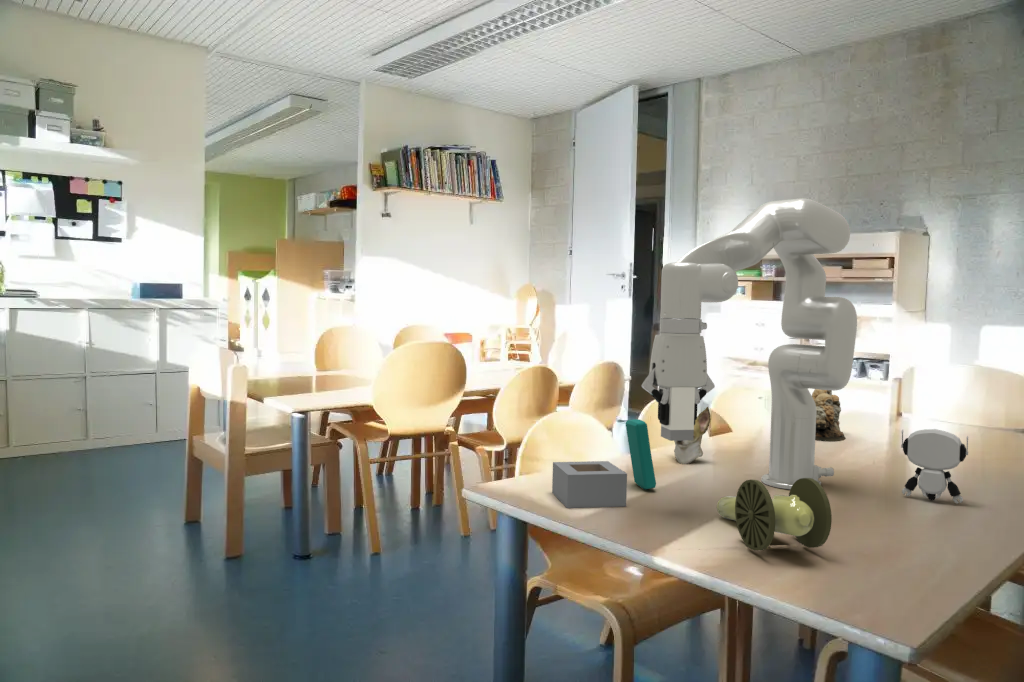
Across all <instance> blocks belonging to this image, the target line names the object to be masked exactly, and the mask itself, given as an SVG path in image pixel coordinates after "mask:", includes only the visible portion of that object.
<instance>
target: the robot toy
mask: <svg viewBox="0 0 1024 682" xmlns="http://www.w3.org/2000/svg"><path fill="white" fill-rule="evenodd" d="M900 448H902V451H903V453H904V455H905V456H907V459H908V461H909V462H911V463H912V464H913V465H915V466H917V468H916V469H915V470H914V473H915V474H914V475H913V476H912V477H910V478H908V480H907V482H906V483H905V484H904V487H903V488H902V490H901V493H902V494H903V495H905V496H906V497H910V496H911V495H912V493H913V492H914V490H915V489H916V488H917V486H918V488H919V489H920V490H921V493H922V496H924V497H925V498H927V500H929V501H935V500H936V499H939V498H940V497H941V495H942V494H943V492H944V491H945V490H946V488H947V491H948V493H949V494H950V497H952V501H953V502H954V503H955V504H959V503H960V504H961V503H963V501H964V498H963V496H961V492H960V488H959V487H958V485H957V484H956V483H955V482H953V481H952V479H951V477H952V475H951V474H952V473H951V472H950V471H948V470H952V469H954V468H957V467H958V466H959V465H960V463H961V462H962V463H963V462H964V460H965V459H966V457H967V456H969V436H968V435H967V436H966V445H965V443H963V442H962V440H961V439H960V437H958V436H957V435H956V434H954V433H952V432H949V431H945V430H941V429H937V428H929V429H919V430H915V431H914V432H912V433H910V435H909V436H908V437H906V438H905V439H904V429H902V430H901V447H900ZM946 470H947V471H946ZM958 500H959V501H958Z"/></svg>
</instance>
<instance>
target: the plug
mask: <svg viewBox="0 0 1024 682" xmlns="http://www.w3.org/2000/svg"><path fill="white" fill-rule="evenodd" d="M667 401H668V404H669V406H670V408H669V425H663V424H661V423H660V437H661V438H664V439H666V440H667V441H670V442H671V441H672V442H674V441H684V440H693V435H694V403H695V387H671V388H670V393H669V397H668V400H667Z"/></svg>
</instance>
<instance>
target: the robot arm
mask: <svg viewBox="0 0 1024 682" xmlns="http://www.w3.org/2000/svg"><path fill="white" fill-rule="evenodd" d="M850 237H851V228H850V225H849V223H848V220H847V219H846V218H845V217H844V215H842V214H841V213H839V212H838V211H837V210H834V209H832V208H831V207H829V206H826V205H825V204H823V203H821V202H819V201H817V200H814V199H811V198H804V197H803V198H802V197H801V198H794V199H793V198H791V199H780V200H772V201H771V200H770V201H768V202H764V203H762V204H761V205H759V206H757V207H756V208H755V209H754V210H753V211H752V212H750V214H748V215H747V216H746V217H745V218H744V219H743V220H742V221H740V223H739V224H737V225H735V227H734V228H733V229H732V230H731V231H729V232H727V233H725V234H722V235H720V236H717V237H715V238H713V239H712V240H710V241H708V242H705V243H703V244H701V245H698V246H696V247H694V248H693V249H691V250H689V251H688V252H686V253H685V254H684V255H683V256H682V257H680V259H678V260H677V261H676V262H668V263H666V264H664V265H663V267H662V269H661V275H660V276H661V278H660V279H661V280H660V281H661V282H660V316H659V317H660V318H659V334H655V336H654V340H653V342H652V343H653V344H652V347H651V348H652V349H651V356H650V363H649V373H648V375H647V377H645V379H644V380H643V382H642V384H641V388H642V389H643V390H645V391H646V392H648V393H649V394H650V396H652V398H653V399H654V400H655V401H656V402H657V420H658V421H659V424H660V425H661V424H663V425H669V408H670V406H669V404H668V401H667V400H668V397H669V393H670V388H671V387H695V403H694V425H695V420H696V419H697V416H698V405H699V404H700V403H701V400H702V399H703V398H705V396H706V395H707V394H709V392H711V391H712V390H713V389H715V383H714V382H713V379H711V377H710V376H709V375H708V362H707V359H708V358H707V351H706V344H705V338H704V336H703V335H701V334H702V331H703V330H707V329H708V324H707V322H703V321H702V303H722V302H726V301H728V300H730V299H732V297H734V295H735V294H736V292H737V291H738V289H739V288H738V287H739V278H738V275H737V272H738V271H740V270H743V269H746V268H750V267H753V266H754V265H755V266H756V264H758V263H760V262H761V260H763V258H765V257H766V256H767V254H769V253H770V252H771V251H772V250H773V249H774V251H775V252H776V255H777V256H778V257H779V259H780V260H779V261H781V263H782V266H783V268H784V271H785V272H784V273H785V285H784V287H785V288H784V295H783V303H782V311H781V322H780V325H781V329H782V332H783V334H785V336H788V337H790V338H794V339H802V340H814V341H815V340H819V341H824V345H813V344H797V343H795V344H793V343H792V344H791V343H789V344H788V343H787V344H782V345H780V346H778V347H775V348H774V349H773V350H772V352H771V353H770V355H769V357H768V363H767V364H768V365H767V366H768V367H767V368H768V375H769V380H770V389H771V411H770V412H771V413H770V433H769V434H770V437H769V439H770V440H769V460H768V461H769V467H768V469H769V470H768V473H765V474H763V475H761V483H762V484H763V485H764V484H765V485H767V486H770V487H773V488H778V489H784V490H791V487H792V486H793V484H794V483H795V482H796V481H797V480H799V479H801V478H811V479H814V480H816V481H817V482H818V483H819V484H820V485H821V486H822V481H821V480H820V478H822V477H833V476H834V475H835V471H834V468H833V467H823V468H822V467H821V466H819V465H816V464H815V454H816V452H815V451H816V440H815V433H816V405H815V402H814V399H813V397H812V394H811V392H810V390H809V389H811V390H815V389H820V390H832V391H840V390H842V389H844V388H846V386H847V385H848V384H849V382H850V379H851V375H852V371H853V370H852V369H853V363H854V356H855V355H854V354H855V347H856V338H857V331H858V330H857V329H858V315H857V314H858V313H857V311H856V308H855V305H854V304H853V303H852V301H850V300H849V299H847V298H845V297H840V296H826V286H827V285H826V284H827V273H826V271H825V269H824V267H823V265H822V263H820V261H819V260H818V259H817V257H816V256H815V255H827V254H829V255H830V254H837V253H839V252H842V250H844V249H845V248H846V247H847V245H848V244H849V241H850ZM736 271H737V272H736ZM654 386H656V387H658V389H657V388H655V387H654Z"/></svg>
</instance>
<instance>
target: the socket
mask: <svg viewBox="0 0 1024 682" xmlns="http://www.w3.org/2000/svg"><path fill="white" fill-rule="evenodd" d="M551 480H552V484H551V485H552V486H551V488H552V489H551V493H552V495H554V496H555V498H557V500H559V502H560V503H561V504H562V505H564V506H565V508H566V509H577V508H578V509H581V508H582V509H584V508H588V509H589V508H615V507H617V508H618V507H619V508H620V507H622V508H623V507H627V494H628V493H627V492H628V491H627V490H628V473H627V472H625V470H622V469H621V468H619V467H618V466H616V465H615V464H613V463H611V462H610V461H608V460H603V461H601V460H600V461H599V460H598V461H596V460H595V461H553V462H552V479H551Z"/></svg>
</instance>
